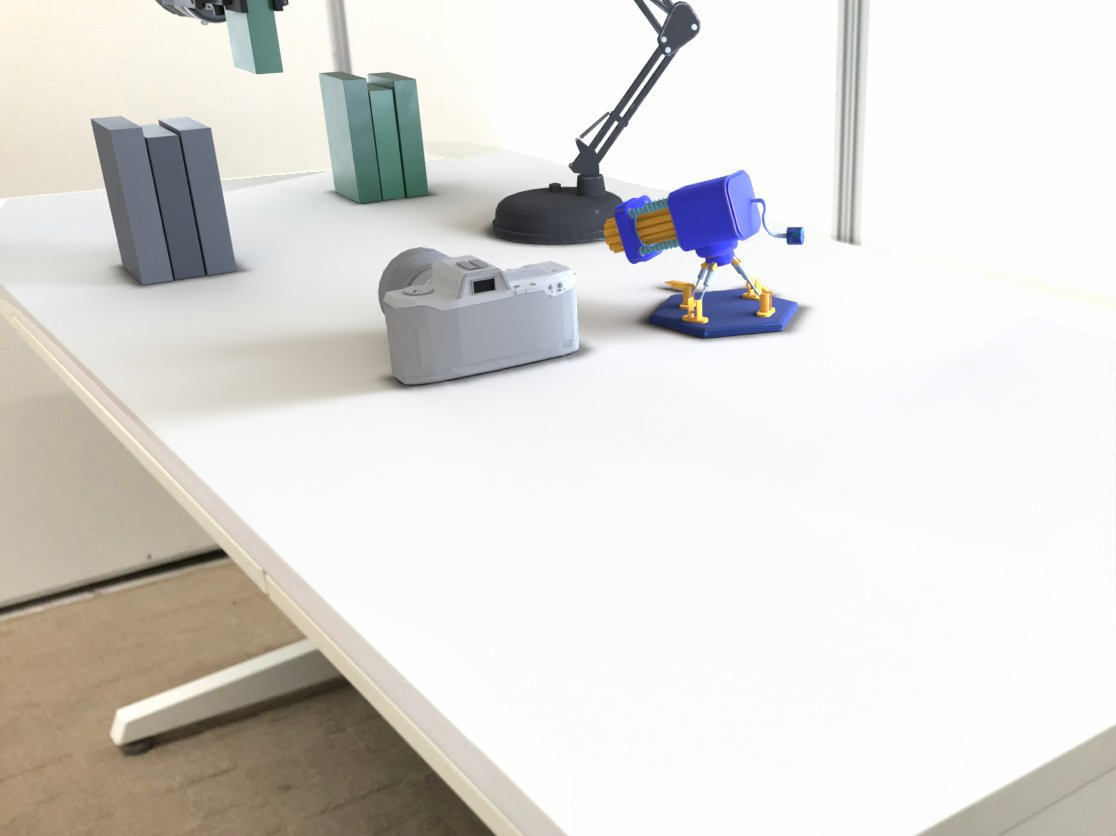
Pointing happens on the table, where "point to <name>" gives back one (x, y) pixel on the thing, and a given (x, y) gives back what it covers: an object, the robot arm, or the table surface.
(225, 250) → the grey books
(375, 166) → the green books
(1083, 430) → the table surface
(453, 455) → the table surface
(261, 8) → the green book
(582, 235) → the desk lamp
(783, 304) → the toy gatling gun
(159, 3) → the robot arm
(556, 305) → the digital camera
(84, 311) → the table surface
